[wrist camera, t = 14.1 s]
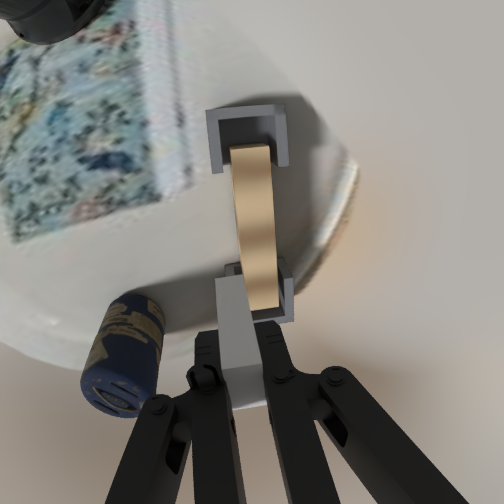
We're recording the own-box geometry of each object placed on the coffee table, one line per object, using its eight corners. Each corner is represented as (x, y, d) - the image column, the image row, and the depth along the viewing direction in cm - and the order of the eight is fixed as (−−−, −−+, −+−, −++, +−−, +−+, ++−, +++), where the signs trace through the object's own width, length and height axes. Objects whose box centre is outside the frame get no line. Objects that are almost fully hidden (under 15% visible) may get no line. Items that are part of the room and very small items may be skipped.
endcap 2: (284, 298, 48) (293, 321, 42) (230, 305, 47) (233, 330, 41) (283, 257, 45) (293, 277, 39) (224, 265, 44) (226, 286, 38)
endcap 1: (206, 111, 35) (205, 110, 30) (274, 105, 36) (284, 103, 30) (212, 165, 38) (212, 174, 33) (277, 159, 39) (289, 166, 33)
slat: (227, 145, 36) (231, 149, 31) (260, 141, 37) (269, 146, 31) (243, 287, 45) (248, 311, 39) (270, 283, 45) (279, 306, 40)
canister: (139, 279, 43) (109, 367, 27) (178, 322, 47) (171, 415, 31) (97, 308, 44) (60, 393, 28) (136, 347, 48) (117, 434, 32)
